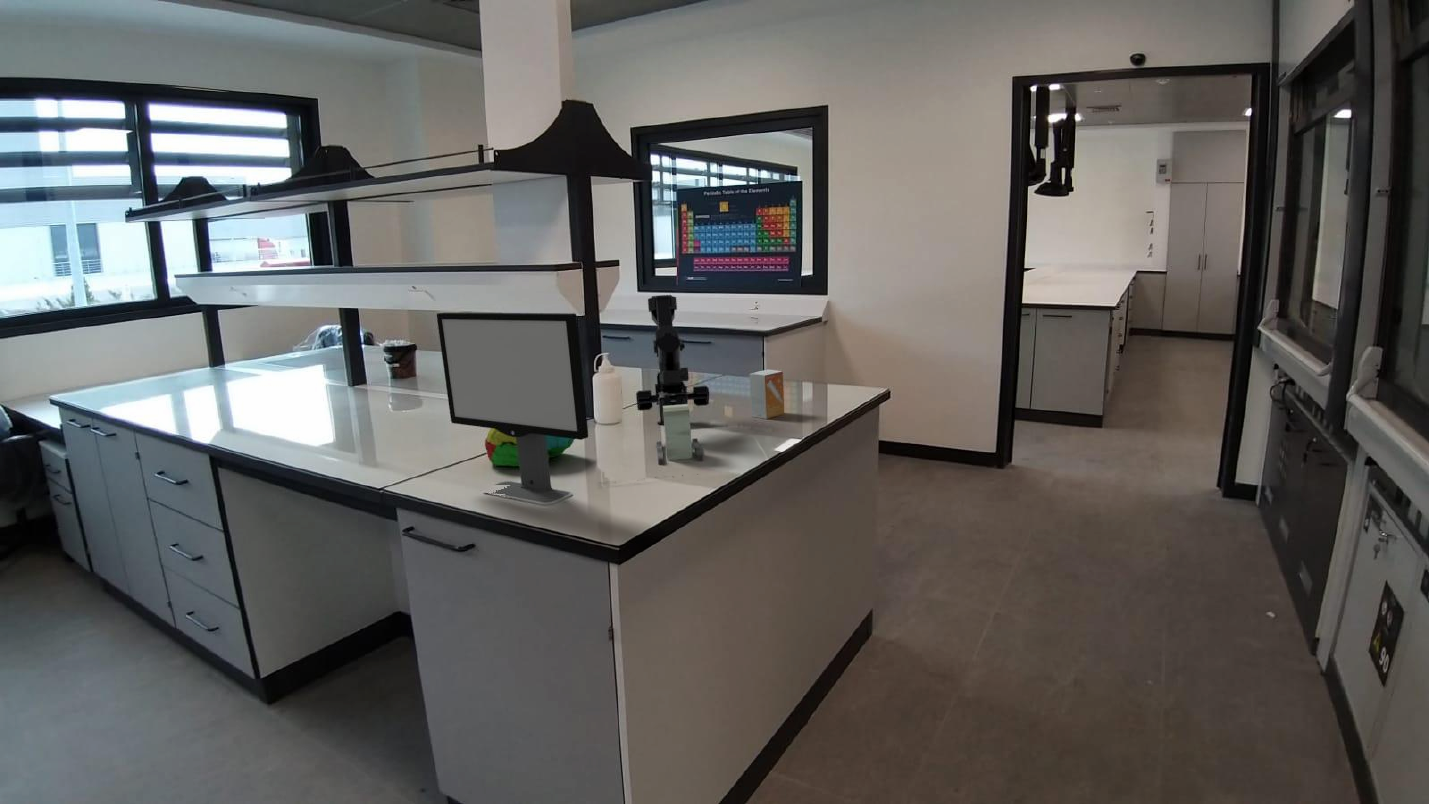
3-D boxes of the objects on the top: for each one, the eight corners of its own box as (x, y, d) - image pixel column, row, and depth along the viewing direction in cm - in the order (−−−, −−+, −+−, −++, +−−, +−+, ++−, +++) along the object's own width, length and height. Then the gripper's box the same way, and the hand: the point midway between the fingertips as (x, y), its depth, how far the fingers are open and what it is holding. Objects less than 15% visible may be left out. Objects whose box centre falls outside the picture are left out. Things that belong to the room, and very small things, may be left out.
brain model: (592, 449, 204) (584, 393, 201) (557, 472, 186) (548, 411, 183) (514, 452, 211) (505, 398, 208) (473, 473, 194) (462, 415, 191)
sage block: (666, 453, 192) (662, 406, 190) (690, 451, 193) (687, 404, 190) (667, 460, 186) (663, 411, 184) (692, 458, 187) (689, 409, 184)
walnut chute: (654, 452, 199) (653, 442, 199) (700, 448, 200) (700, 438, 200) (655, 470, 184) (654, 459, 183) (706, 466, 185) (705, 455, 184)
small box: (766, 419, 226) (764, 375, 223) (750, 416, 231) (748, 373, 228) (785, 413, 232) (783, 370, 229) (769, 411, 236) (767, 368, 233)
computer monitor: (451, 487, 181) (427, 314, 172) (480, 476, 188) (458, 310, 179) (582, 513, 158) (561, 315, 150) (609, 500, 165) (591, 310, 157)
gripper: (633, 360, 199) (636, 412, 191) (706, 354, 200) (713, 405, 192) (635, 384, 208) (639, 435, 200) (705, 379, 210) (711, 429, 201)
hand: (675, 425), depth 198 cm, fingers closed
